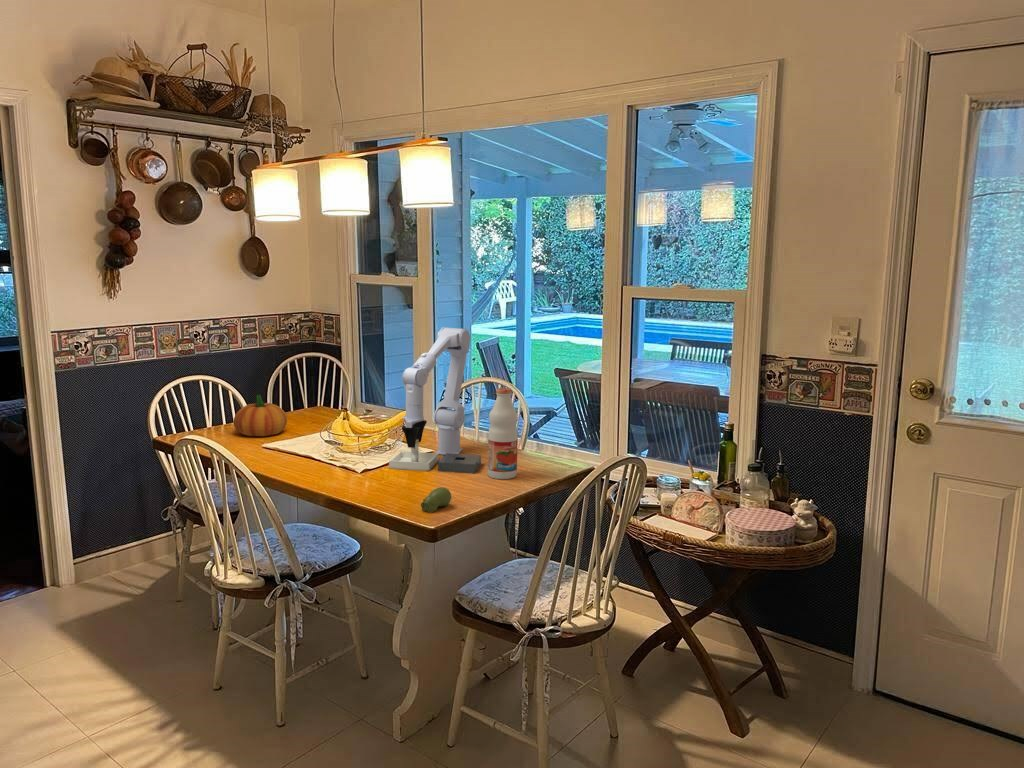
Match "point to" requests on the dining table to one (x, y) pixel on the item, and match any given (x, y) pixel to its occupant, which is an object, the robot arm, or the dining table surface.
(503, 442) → the fruit juice
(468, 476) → the dining table surface
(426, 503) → the pear
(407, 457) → the tray
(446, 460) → the block
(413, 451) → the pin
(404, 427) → the robot arm
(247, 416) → the pumpkin
